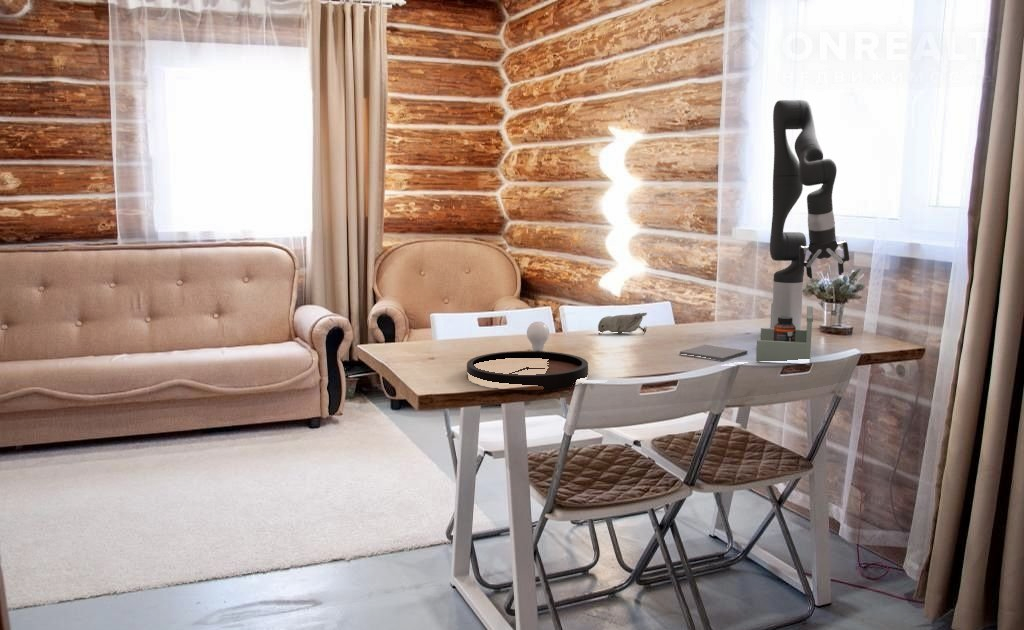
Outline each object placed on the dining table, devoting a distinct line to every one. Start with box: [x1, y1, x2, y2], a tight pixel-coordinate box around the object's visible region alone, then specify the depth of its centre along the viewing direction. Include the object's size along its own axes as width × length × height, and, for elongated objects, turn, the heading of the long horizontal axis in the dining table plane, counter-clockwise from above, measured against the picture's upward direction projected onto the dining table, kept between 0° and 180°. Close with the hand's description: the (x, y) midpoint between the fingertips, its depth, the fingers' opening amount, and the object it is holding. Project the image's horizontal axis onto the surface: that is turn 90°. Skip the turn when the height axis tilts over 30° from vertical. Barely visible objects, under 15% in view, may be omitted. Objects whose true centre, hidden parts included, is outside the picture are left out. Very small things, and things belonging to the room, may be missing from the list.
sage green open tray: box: [755, 306, 814, 366], centre depth 245 cm, size 14×22×13 cm, turn 161°
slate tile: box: [679, 344, 748, 362], centre depth 249 cm, size 14×14×1 cm
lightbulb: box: [526, 321, 550, 351], centre depth 242 cm, size 6×6×11 cm
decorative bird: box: [597, 312, 648, 335], centre depth 283 cm, size 5×16×8 cm, turn 88°
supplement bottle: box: [773, 316, 796, 342], centre depth 246 cm, size 6×6×11 cm
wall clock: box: [466, 350, 589, 391], centre depth 222 cm, size 31×4×31 cm
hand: (825, 276), depth 263 cm, fingers open, 8 cm apart
